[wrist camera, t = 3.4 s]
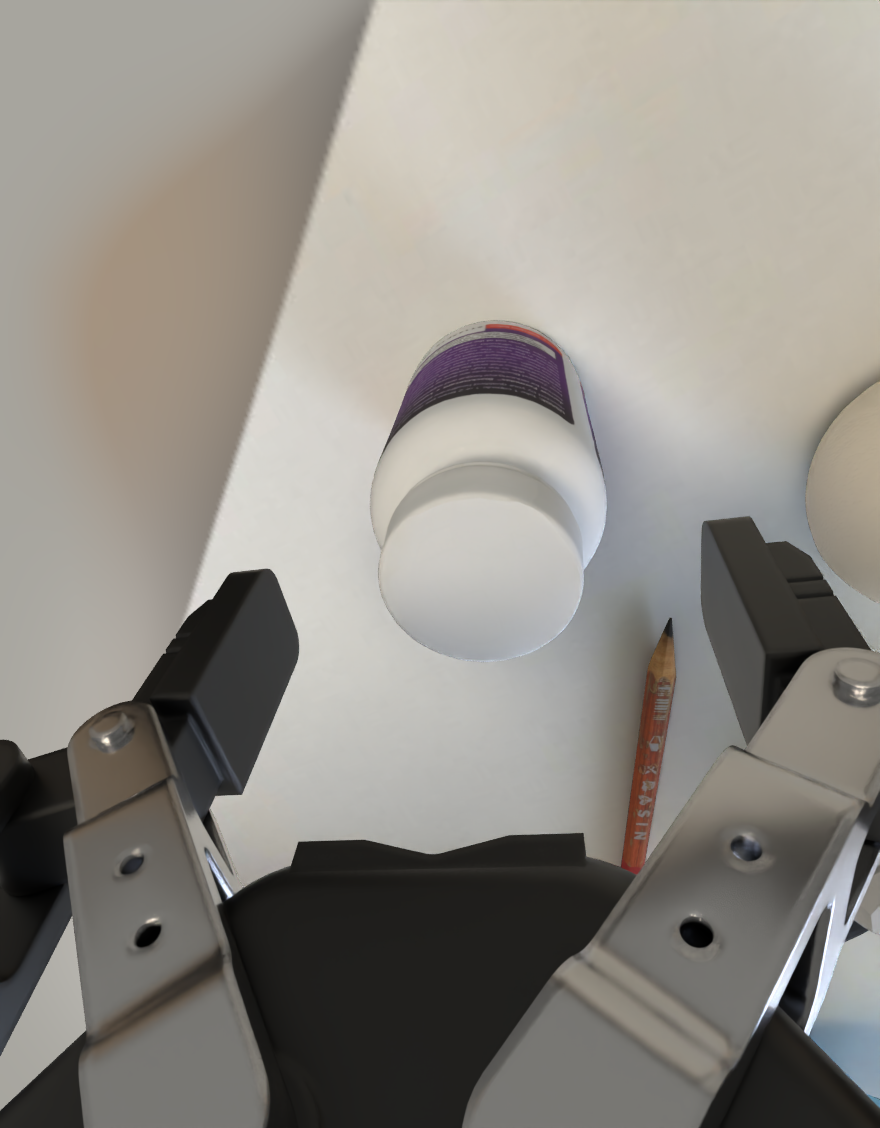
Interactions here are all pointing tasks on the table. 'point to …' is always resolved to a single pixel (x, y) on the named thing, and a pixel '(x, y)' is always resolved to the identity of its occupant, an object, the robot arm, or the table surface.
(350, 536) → the table surface
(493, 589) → the pill bottle
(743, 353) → the table surface
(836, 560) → the cream round ball
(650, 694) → the pencil
